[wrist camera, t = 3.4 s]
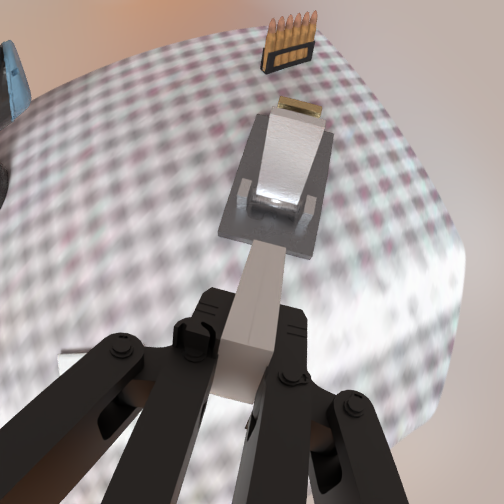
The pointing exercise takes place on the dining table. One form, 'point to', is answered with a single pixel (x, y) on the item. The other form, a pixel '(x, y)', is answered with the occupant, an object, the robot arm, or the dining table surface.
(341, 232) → the dining table surface
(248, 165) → the latch board
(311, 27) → the ammunition clip
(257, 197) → the strap
